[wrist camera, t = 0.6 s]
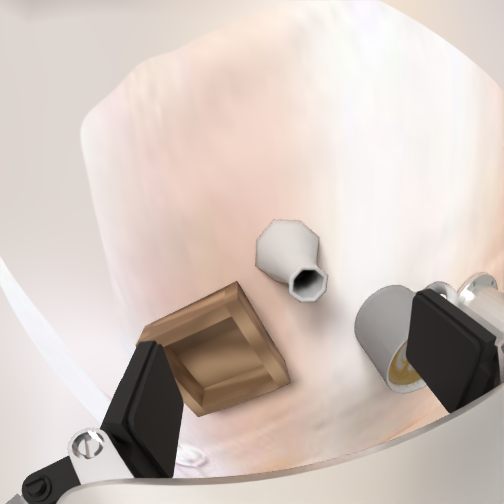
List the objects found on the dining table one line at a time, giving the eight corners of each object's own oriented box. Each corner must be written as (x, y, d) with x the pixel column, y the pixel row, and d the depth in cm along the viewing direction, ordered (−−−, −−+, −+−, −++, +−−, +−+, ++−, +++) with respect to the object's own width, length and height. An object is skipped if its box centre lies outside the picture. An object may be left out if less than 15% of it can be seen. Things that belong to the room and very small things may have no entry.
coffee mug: (372, 360, 37) (401, 405, 28) (341, 318, 35) (372, 364, 25) (440, 303, 36) (481, 335, 26) (419, 253, 33) (468, 280, 24)
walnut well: (284, 360, 36) (290, 382, 32) (200, 394, 37) (198, 417, 33) (236, 281, 33) (237, 297, 28) (145, 326, 34) (135, 345, 29)
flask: (328, 231, 32) (365, 257, 22) (303, 288, 33) (327, 333, 24) (268, 208, 31) (284, 226, 21) (244, 269, 32) (248, 311, 23)
